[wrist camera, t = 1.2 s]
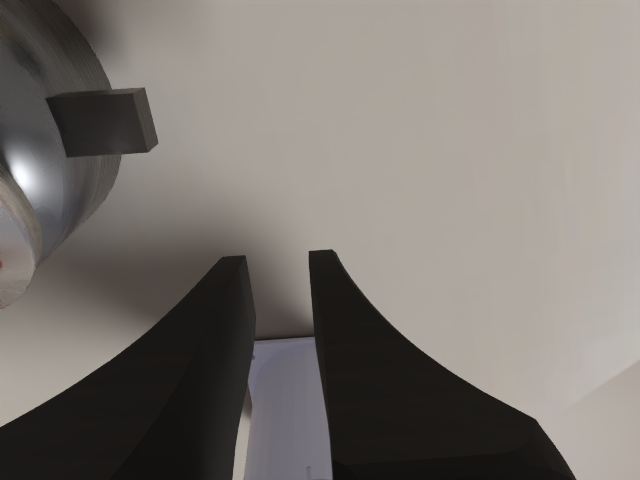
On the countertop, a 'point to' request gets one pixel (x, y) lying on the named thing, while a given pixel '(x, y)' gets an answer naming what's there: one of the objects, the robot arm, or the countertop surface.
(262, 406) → the robot arm
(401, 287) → the countertop surface
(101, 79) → the cooker pot
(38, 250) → the cooker lid
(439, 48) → the countertop surface
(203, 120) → the countertop surface
